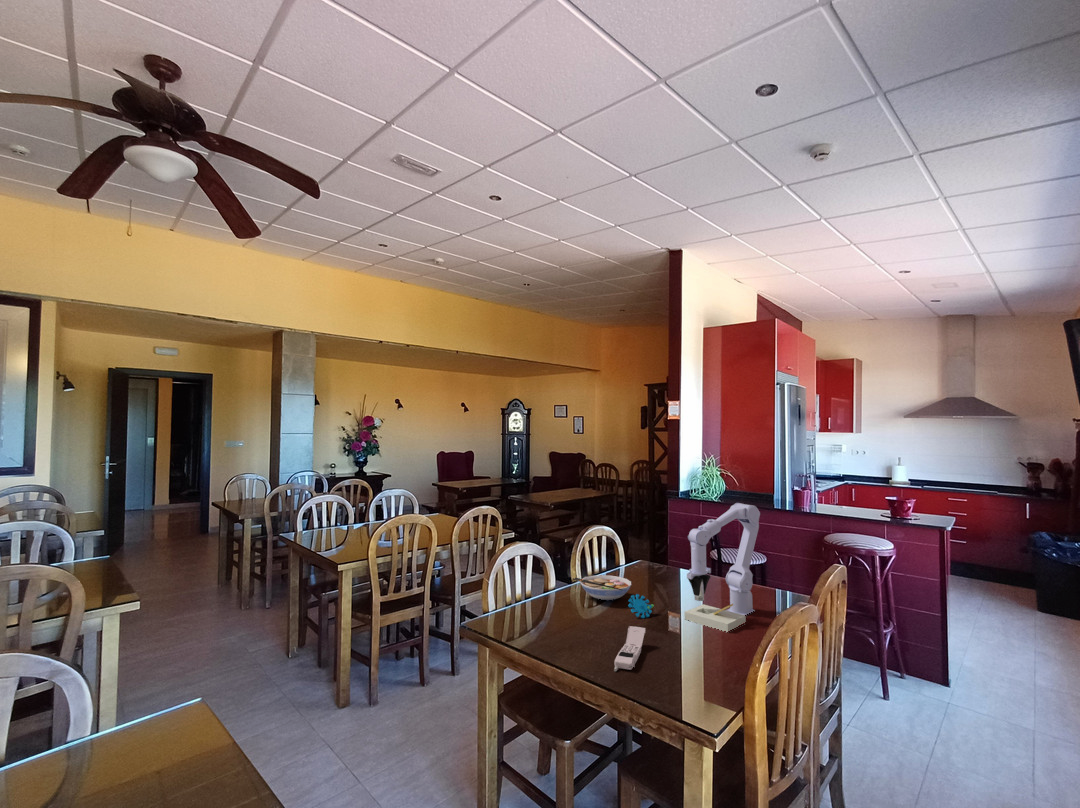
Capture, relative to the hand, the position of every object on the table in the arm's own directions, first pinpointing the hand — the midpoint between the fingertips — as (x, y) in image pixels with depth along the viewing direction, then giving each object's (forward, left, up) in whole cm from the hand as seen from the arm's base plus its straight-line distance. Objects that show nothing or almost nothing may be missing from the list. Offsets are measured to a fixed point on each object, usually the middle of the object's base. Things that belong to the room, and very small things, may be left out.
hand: (699, 594), depth 205 cm
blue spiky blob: (+16, -17, -9) cm, 25 cm away
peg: (0, 0, -2) cm, 2 cm away
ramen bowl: (+10, -40, -9) cm, 43 cm away
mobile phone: (+51, +5, -9) cm, 52 cm away
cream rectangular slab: (0, +7, -9) cm, 11 cm away
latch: (0, +10, -4) cm, 11 cm away
